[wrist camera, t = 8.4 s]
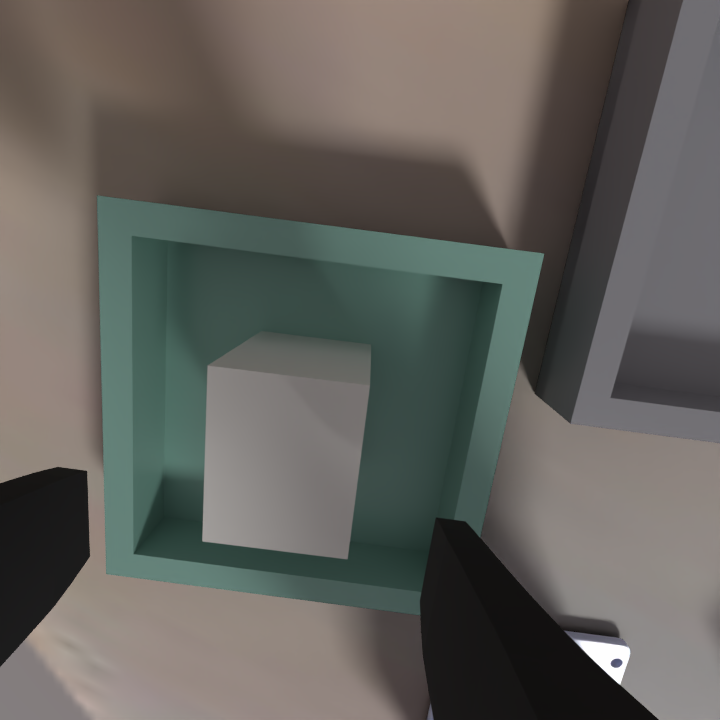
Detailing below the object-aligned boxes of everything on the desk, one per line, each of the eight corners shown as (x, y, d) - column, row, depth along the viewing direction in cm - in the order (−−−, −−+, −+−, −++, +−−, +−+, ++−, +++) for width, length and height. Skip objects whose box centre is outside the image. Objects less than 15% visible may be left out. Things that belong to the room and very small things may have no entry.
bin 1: (447, 562, 18) (461, 620, 15) (149, 522, 18) (106, 573, 15) (511, 254, 15) (544, 253, 12) (151, 207, 15) (96, 195, 12)
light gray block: (355, 469, 16) (347, 559, 11) (253, 456, 16) (202, 541, 11) (371, 344, 15) (369, 385, 10) (261, 330, 15) (207, 365, 10)
